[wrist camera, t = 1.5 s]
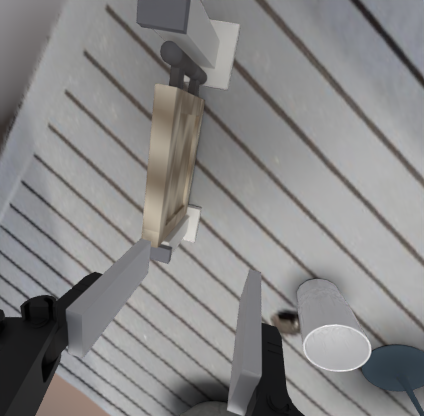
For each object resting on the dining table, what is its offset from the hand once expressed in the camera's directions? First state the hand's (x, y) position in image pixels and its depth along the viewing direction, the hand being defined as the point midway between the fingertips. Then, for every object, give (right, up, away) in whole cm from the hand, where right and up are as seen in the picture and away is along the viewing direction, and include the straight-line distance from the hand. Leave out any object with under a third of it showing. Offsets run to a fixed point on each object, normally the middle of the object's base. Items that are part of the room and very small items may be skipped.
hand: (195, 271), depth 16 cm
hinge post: (+1, +24, +14) cm, 28 cm away
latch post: (-4, +2, +23) cm, 23 cm away
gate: (-2, +13, +17) cm, 21 cm away
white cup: (+19, -10, +23) cm, 31 cm away
